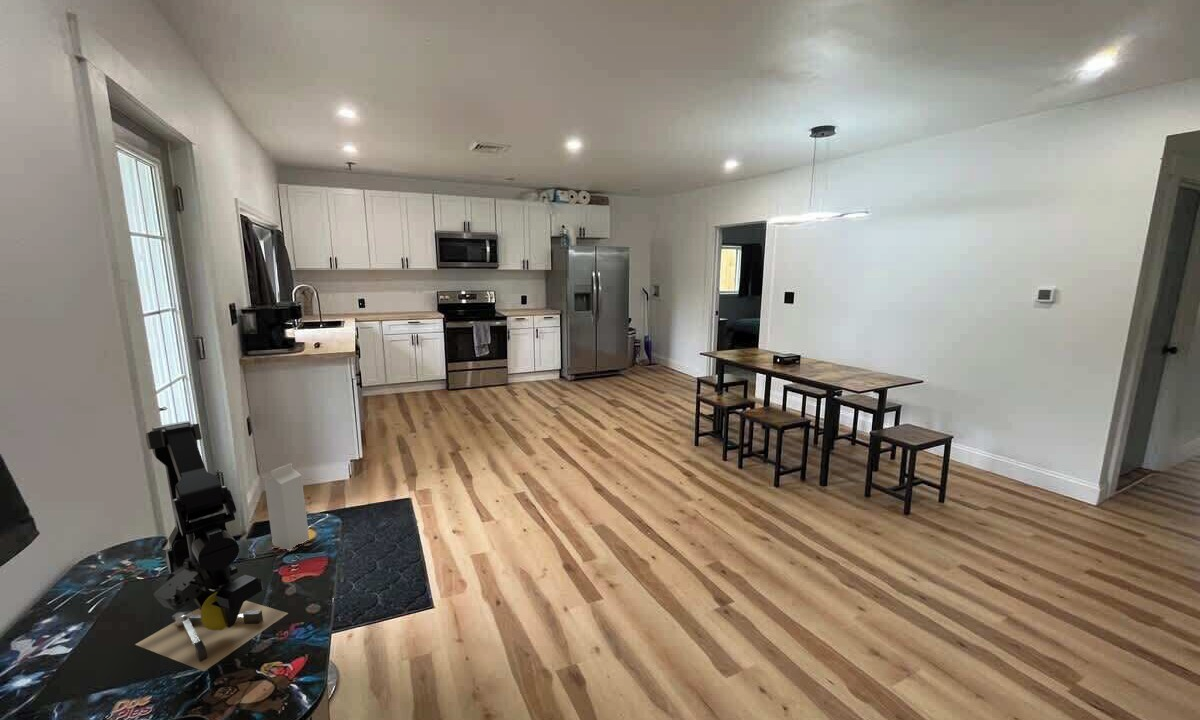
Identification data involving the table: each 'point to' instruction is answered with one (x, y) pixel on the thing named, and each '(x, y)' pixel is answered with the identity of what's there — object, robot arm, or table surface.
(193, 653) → the board
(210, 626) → the lemon
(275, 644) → the table surface
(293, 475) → the milk
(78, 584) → the table surface
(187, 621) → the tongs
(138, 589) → the table surface
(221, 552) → the robot arm
